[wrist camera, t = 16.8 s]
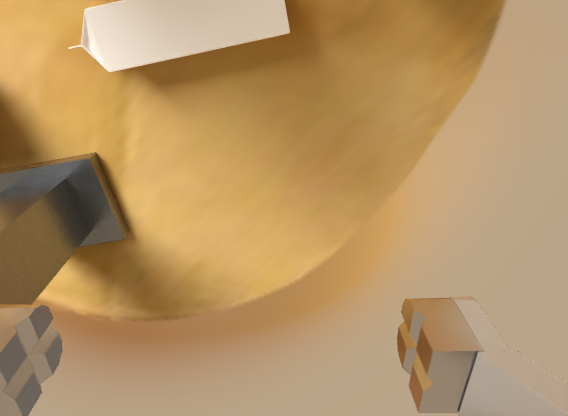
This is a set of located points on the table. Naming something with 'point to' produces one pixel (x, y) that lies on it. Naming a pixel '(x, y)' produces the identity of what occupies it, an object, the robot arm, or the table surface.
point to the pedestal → (51, 221)
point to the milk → (175, 28)
